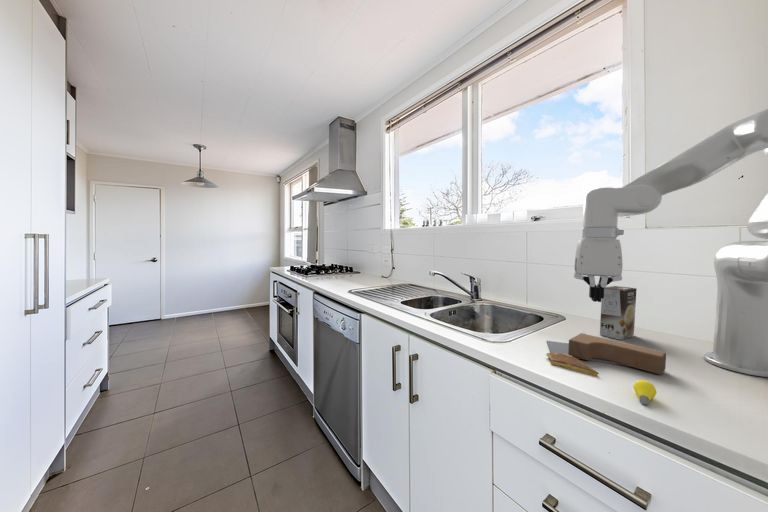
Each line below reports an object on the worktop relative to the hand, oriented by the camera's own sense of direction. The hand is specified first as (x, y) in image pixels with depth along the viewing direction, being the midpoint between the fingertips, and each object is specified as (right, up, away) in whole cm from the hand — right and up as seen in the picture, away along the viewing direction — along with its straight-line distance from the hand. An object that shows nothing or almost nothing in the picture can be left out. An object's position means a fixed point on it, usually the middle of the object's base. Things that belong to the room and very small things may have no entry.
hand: (596, 300), depth 79 cm
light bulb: (-6, -17, -22) cm, 28 cm away
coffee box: (+19, -14, +16) cm, 29 cm away
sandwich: (-10, -16, -5) cm, 20 cm away
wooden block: (-5, -12, +2) cm, 13 cm away
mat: (+1, -15, +1) cm, 15 cm away
